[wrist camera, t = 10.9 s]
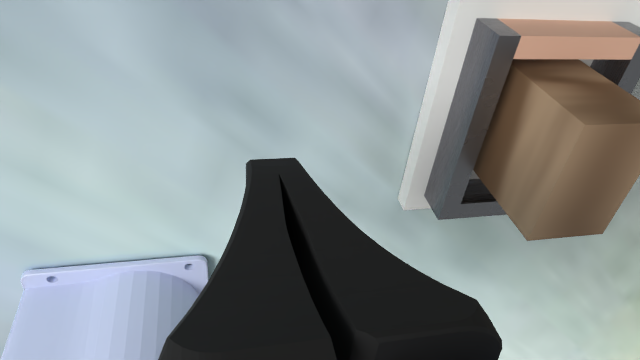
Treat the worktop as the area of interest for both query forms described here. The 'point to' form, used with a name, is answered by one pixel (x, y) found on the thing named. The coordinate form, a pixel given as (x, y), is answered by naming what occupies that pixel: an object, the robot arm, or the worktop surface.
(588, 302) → the worktop surface
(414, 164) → the grey tray
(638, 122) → the plug block
